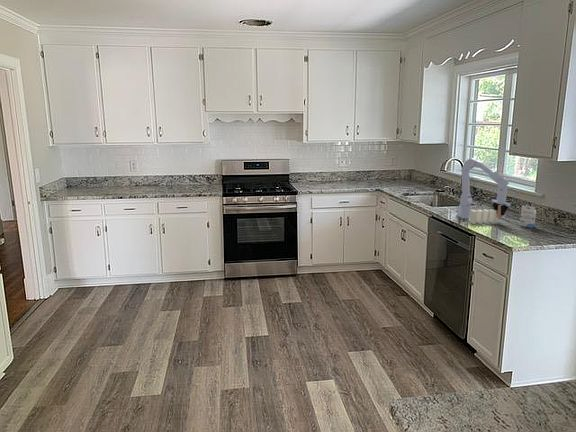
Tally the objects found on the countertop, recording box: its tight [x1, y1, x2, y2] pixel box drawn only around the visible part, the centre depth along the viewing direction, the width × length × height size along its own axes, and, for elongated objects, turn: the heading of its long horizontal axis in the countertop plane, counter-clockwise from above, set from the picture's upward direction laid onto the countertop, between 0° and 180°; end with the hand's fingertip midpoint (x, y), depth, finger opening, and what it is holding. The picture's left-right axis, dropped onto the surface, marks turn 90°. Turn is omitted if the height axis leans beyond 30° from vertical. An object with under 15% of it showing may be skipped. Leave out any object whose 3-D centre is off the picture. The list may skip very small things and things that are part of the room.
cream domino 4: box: [489, 208, 497, 223], centre depth 299 cm, size 5×2×9 cm, turn 10°
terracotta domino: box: [496, 204, 503, 220], centre depth 299 cm, size 5×2×9 cm, turn 172°
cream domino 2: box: [476, 209, 484, 225], centre depth 297 cm, size 5×2×9 cm, turn 10°
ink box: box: [518, 205, 537, 229], centre depth 290 cm, size 8×5×15 cm, turn 47°
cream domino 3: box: [482, 208, 490, 225], centre depth 298 cm, size 5×2×9 cm, turn 10°
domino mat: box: [464, 218, 510, 226], centre depth 301 cm, size 12×29×1 cm, turn 99°
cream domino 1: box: [469, 209, 477, 225], centre depth 296 cm, size 5×2×9 cm, turn 10°
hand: (499, 214), depth 299 cm, fingers closed on terracotta domino, 5 cm apart
